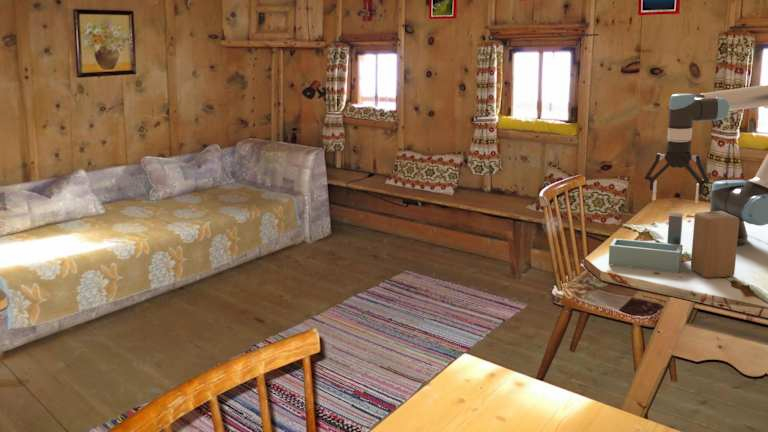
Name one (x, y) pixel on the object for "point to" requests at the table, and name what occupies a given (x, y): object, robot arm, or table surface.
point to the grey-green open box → (646, 255)
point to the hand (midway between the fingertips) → (675, 201)
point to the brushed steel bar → (675, 228)
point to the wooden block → (714, 244)
